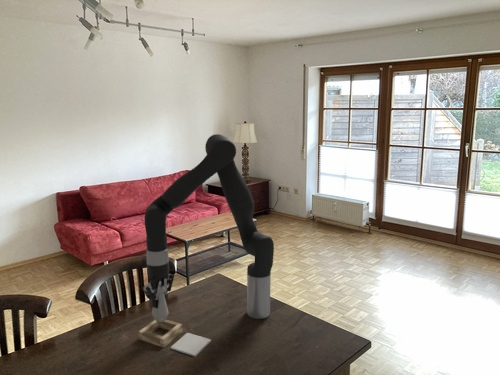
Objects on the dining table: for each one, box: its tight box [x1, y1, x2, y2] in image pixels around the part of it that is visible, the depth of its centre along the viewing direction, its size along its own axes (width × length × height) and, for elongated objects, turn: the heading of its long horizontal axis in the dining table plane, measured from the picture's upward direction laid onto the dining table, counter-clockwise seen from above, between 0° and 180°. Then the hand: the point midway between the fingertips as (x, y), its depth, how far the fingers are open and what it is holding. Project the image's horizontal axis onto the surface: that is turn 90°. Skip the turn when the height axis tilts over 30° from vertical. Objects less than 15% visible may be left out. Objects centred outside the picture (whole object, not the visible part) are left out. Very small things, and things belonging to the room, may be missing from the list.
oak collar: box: [138, 319, 184, 348], centre depth 143 cm, size 11×11×3 cm
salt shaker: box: [151, 286, 169, 322], centre depth 142 cm, size 6×6×13 cm
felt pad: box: [170, 332, 212, 357], centre depth 138 cm, size 10×10×1 cm
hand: (159, 305), depth 142 cm, fingers closed on salt shaker, 3 cm apart
